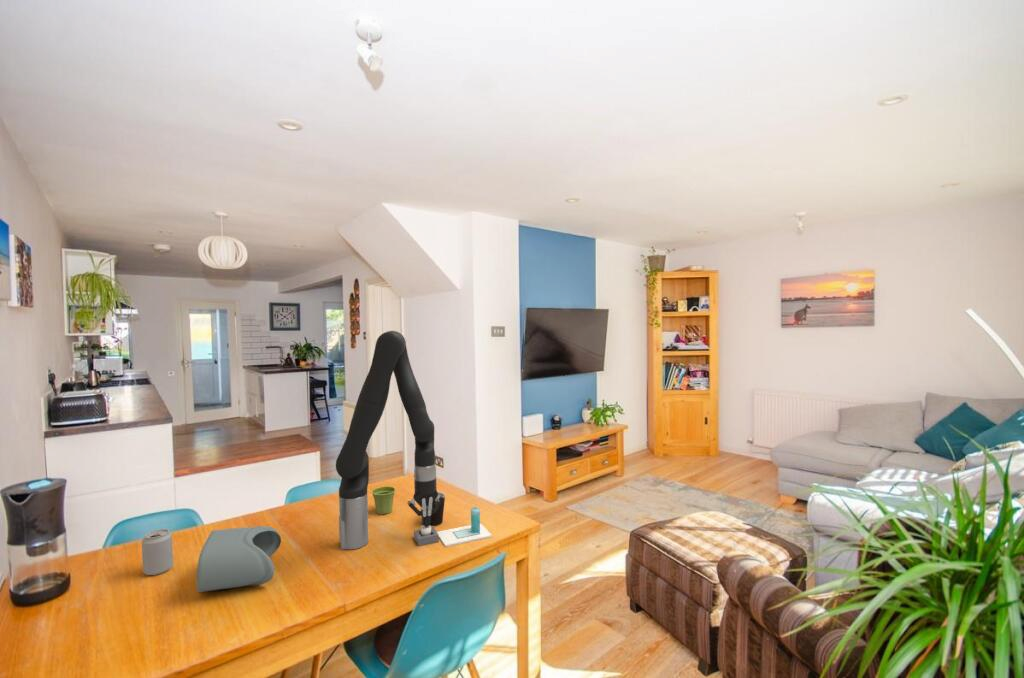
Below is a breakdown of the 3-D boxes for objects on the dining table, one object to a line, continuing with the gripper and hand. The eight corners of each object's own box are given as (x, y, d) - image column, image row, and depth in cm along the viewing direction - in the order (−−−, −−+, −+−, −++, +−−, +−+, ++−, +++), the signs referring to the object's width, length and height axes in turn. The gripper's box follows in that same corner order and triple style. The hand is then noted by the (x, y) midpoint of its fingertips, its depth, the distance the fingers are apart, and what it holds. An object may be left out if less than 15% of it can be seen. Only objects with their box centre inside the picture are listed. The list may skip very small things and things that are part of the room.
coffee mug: (443, 527, 176) (443, 500, 176) (420, 527, 177) (419, 500, 176) (448, 514, 188) (447, 489, 187) (426, 514, 188) (426, 489, 188)
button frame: (418, 546, 162) (418, 538, 162) (413, 537, 168) (413, 530, 168) (438, 541, 165) (438, 534, 165) (433, 533, 171) (433, 526, 171)
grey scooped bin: (214, 564, 151) (215, 524, 150) (280, 555, 158) (281, 517, 157) (195, 603, 130) (196, 556, 130) (273, 591, 137) (274, 547, 137)
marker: (472, 533, 169) (472, 511, 169) (469, 530, 172) (469, 508, 172) (481, 532, 171) (481, 510, 170) (478, 528, 174) (477, 506, 173)
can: (138, 578, 143) (136, 539, 142) (149, 566, 150) (148, 528, 150) (167, 575, 145) (165, 536, 144) (177, 562, 152) (175, 525, 152)
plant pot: (367, 514, 188) (366, 493, 187) (380, 505, 197) (379, 485, 196) (388, 517, 185) (387, 495, 185) (400, 508, 194) (400, 487, 194)
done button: (422, 538, 164) (422, 530, 164) (419, 534, 167) (419, 526, 167) (432, 536, 166) (432, 528, 166) (429, 532, 169) (429, 524, 169)
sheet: (445, 547, 161) (445, 545, 161) (436, 533, 171) (436, 531, 171) (491, 536, 168) (491, 535, 168) (480, 524, 178) (480, 522, 178)
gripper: (408, 483, 159) (409, 534, 160) (446, 477, 165) (447, 526, 166) (403, 476, 166) (405, 525, 167) (440, 470, 172) (441, 518, 173)
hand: (426, 525), depth 166 cm, fingers closed
